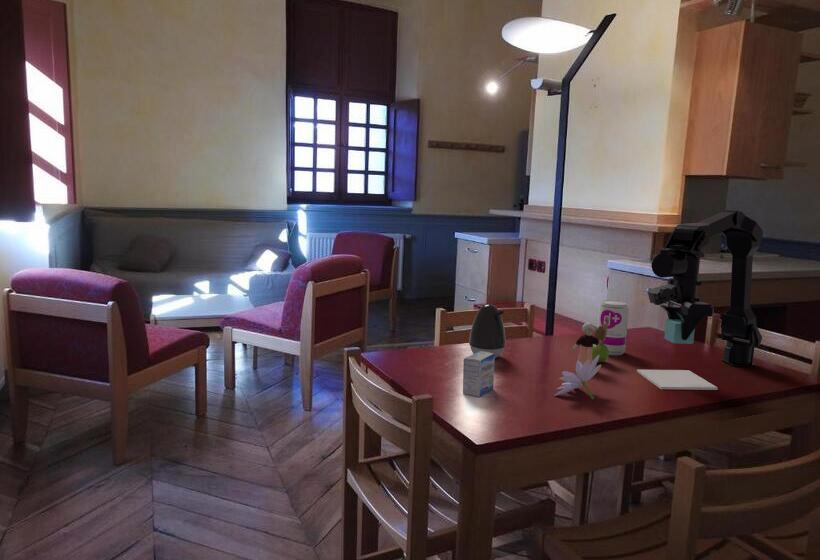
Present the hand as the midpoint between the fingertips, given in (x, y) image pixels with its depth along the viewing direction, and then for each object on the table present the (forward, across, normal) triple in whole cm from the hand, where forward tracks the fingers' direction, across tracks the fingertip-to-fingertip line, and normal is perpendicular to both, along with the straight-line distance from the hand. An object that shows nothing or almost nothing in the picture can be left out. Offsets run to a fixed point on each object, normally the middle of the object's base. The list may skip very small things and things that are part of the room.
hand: (679, 337), depth 150 cm
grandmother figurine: (+12, -9, -20) cm, 25 cm away
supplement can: (+11, -26, -7) cm, 29 cm away
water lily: (+12, +11, -29) cm, 33 cm away
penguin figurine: (+12, -19, -45) cm, 50 cm away
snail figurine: (+12, -16, -14) cm, 24 cm away
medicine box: (+12, +10, -52) cm, 54 cm away
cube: (+1, 0, 0) cm, 1 cm away
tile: (+11, 0, 0) cm, 11 cm away
